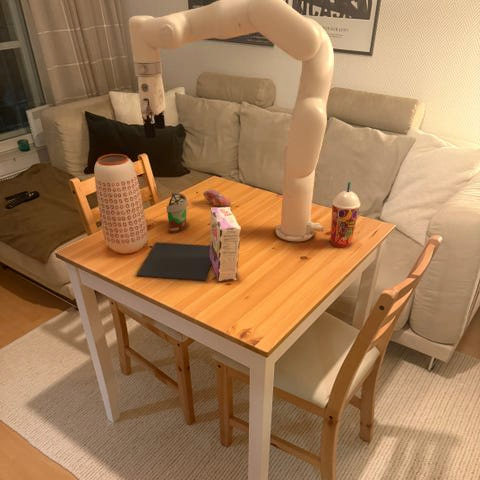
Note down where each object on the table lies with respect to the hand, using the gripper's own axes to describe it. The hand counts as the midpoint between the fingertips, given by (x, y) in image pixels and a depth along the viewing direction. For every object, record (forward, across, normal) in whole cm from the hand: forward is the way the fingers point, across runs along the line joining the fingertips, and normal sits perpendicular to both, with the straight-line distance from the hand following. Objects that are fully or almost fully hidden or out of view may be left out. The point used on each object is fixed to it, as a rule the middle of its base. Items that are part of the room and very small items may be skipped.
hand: (155, 132), depth 137 cm
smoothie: (+31, -4, -59) cm, 67 cm away
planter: (+31, -16, +8) cm, 36 cm away
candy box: (+31, -25, -24) cm, 47 cm away
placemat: (+31, -22, -10) cm, 39 cm away
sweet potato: (+31, +21, -14) cm, 40 cm away
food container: (+31, +1, -5) cm, 32 cm away
